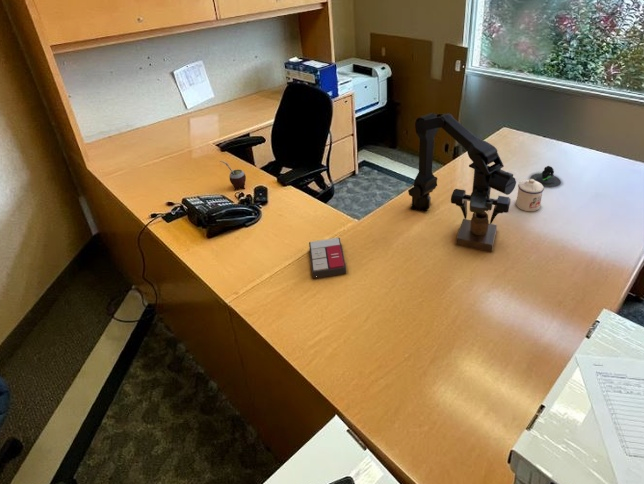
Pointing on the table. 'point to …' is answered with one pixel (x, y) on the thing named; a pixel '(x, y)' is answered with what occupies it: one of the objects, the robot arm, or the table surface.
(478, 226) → the utensil holder
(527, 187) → the teacup with lid
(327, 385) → the table surface
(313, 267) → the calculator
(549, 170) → the dark grey hat
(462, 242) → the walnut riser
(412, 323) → the table surface
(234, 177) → the mate gourd
